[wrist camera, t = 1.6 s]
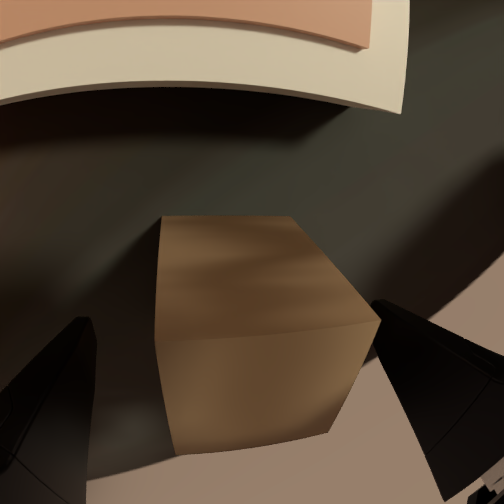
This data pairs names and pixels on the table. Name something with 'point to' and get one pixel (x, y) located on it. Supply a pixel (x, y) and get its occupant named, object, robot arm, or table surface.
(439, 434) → the robot arm
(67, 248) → the table surface
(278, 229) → the walnut block
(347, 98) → the plinth
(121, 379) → the table surface
